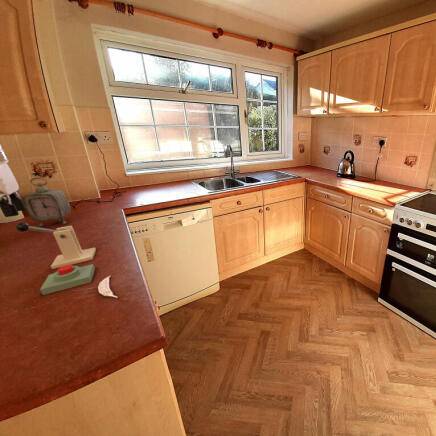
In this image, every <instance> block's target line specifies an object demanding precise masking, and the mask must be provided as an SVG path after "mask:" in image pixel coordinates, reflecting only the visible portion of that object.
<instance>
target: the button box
mask: <svg viewBox="0 0 436 436" xmlns="http://www.w3.org/2000/svg"><path fill="white" fill-rule="evenodd" d="M72 267H73V269H74V270H73V271H72V272H70V273H68V274H65V275H60V274H59V272H58V270H57V271H55V272H54V273H51V274H48V275H47V277H46V279H45V281H44V282H43V283H42V285H41V287H40V288H39V291H40V293H41V294H42V296H45V295H49V294H52V293H57V292H60V291H64V290H67V289H71V288H75V287H78V286H82V285H86V284H89V283H92V280H93V277H94V274H95V270H96V268H95V265H94V264H93V263H92V264H88V265H84V266H78V265H72Z"/></svg>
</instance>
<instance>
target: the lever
mask: <svg viewBox="0 0 436 436" xmlns="http://www.w3.org/2000/svg"><path fill="white" fill-rule="evenodd" d="M15 229H16V230H17V231H18V232H27V231H33V232H39V233H40V232H41V233H47V234H53V232H57V230H56V229H50V228H45V227H38V226H31V225H30V224H29V223H27V222H25V221H24V222H23V221H22V222H19V223H17V224H16V226H15ZM62 230H65V229H61V230H60V231H62ZM70 232H71V230H70Z"/></svg>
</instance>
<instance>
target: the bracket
mask: <svg viewBox="0 0 436 436" xmlns="http://www.w3.org/2000/svg"><path fill="white" fill-rule="evenodd" d="M61 229H65V230H62V231H60V230H61ZM55 230H57V232H53V233H52V234H53V236H54V238H55V241H56V244H57V245H58V247H59V251H60V252H61V254H58V255H57V256H56V257H55V259H54V260H53V262H52V263H51V265H50V268H51V270H55V269H59V268H60V267H62V266H65V265H76V264H80V263H84V262H88V261H91V260H93V259H94V257H95V254H96V251H97V249H96V247H90V248H86V249H82V247H81V244H80V242H79V239H78V237H77V234H76V233H75V230H74V227H73V226H72V225H67V226H62V227H57V228H56V229H55ZM70 230H71V232H70Z"/></svg>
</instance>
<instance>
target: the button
mask: <svg viewBox="0 0 436 436" xmlns="http://www.w3.org/2000/svg"><path fill="white" fill-rule="evenodd" d="M72 266H73V264H71V265H65V266H62V267H59V268H57V271H58V272H59V274H60V275H65V274H68V273H70V272H72V271H73V270H74V269H73V267H72Z"/></svg>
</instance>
